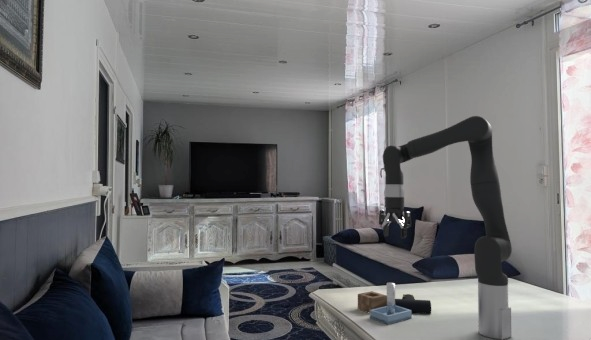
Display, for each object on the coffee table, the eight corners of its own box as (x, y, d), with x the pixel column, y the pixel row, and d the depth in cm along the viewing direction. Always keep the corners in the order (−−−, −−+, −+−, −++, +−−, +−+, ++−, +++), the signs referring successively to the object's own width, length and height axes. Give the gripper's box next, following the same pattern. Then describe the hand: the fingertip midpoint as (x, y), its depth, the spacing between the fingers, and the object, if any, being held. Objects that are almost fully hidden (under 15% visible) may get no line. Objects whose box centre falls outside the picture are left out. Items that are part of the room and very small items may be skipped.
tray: (411, 318, 152) (411, 310, 152) (388, 324, 145) (388, 316, 145) (393, 312, 160) (393, 304, 160) (370, 318, 152) (370, 310, 152)
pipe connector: (389, 292, 171) (426, 294, 169) (389, 304, 171) (426, 306, 169) (392, 300, 160) (431, 302, 157) (392, 313, 160) (431, 315, 157)
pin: (397, 315, 152) (397, 283, 152) (391, 317, 150) (391, 284, 150) (390, 313, 154) (390, 282, 155) (384, 315, 152) (384, 283, 153)
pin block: (386, 310, 162) (386, 295, 162) (372, 314, 157) (372, 298, 157) (371, 305, 168) (371, 291, 169) (357, 308, 164) (357, 293, 164)
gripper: (415, 196, 156) (415, 238, 156) (386, 195, 168) (387, 234, 167) (402, 196, 152) (402, 239, 151) (374, 195, 163) (374, 235, 163)
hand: (394, 237), depth 159 cm, fingers open, 8 cm apart
